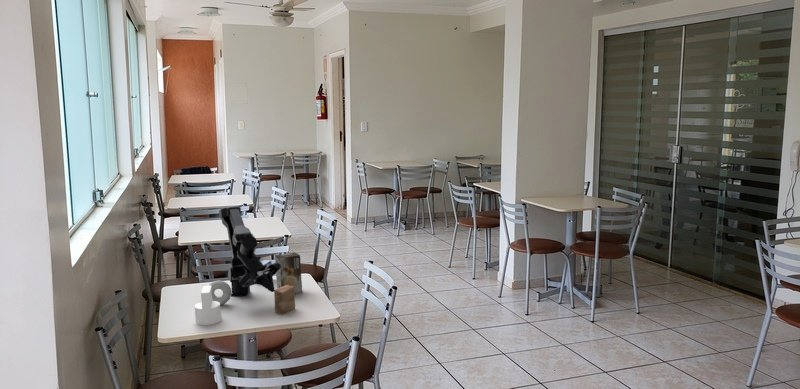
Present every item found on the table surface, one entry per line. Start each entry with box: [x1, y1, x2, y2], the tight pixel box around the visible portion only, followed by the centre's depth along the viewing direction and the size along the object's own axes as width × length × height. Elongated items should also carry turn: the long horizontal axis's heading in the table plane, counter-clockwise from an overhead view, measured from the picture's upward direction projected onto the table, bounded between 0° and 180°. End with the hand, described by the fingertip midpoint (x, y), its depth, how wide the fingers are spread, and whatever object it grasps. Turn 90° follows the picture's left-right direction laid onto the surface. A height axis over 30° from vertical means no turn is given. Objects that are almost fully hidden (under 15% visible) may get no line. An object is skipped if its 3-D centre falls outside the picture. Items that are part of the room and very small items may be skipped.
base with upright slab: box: [194, 284, 222, 326], centre depth 227 cm, size 9×9×12 cm
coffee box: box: [274, 251, 303, 294], centre depth 259 cm, size 9×6×16 cm
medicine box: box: [260, 259, 273, 269], centre depth 275 cm, size 8×4×9 cm, turn 168°
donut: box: [207, 280, 232, 306], centre depth 244 cm, size 10×4×10 cm, turn 101°
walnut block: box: [273, 285, 296, 315], centre depth 236 cm, size 4×7×9 cm, turn 151°
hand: (273, 291), depth 237 cm, fingers closed
